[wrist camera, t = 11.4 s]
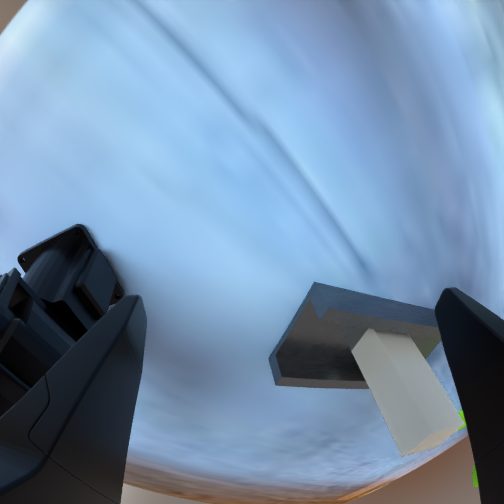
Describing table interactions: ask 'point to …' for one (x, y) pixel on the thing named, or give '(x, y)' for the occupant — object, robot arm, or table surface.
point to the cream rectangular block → (406, 391)
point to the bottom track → (343, 336)
